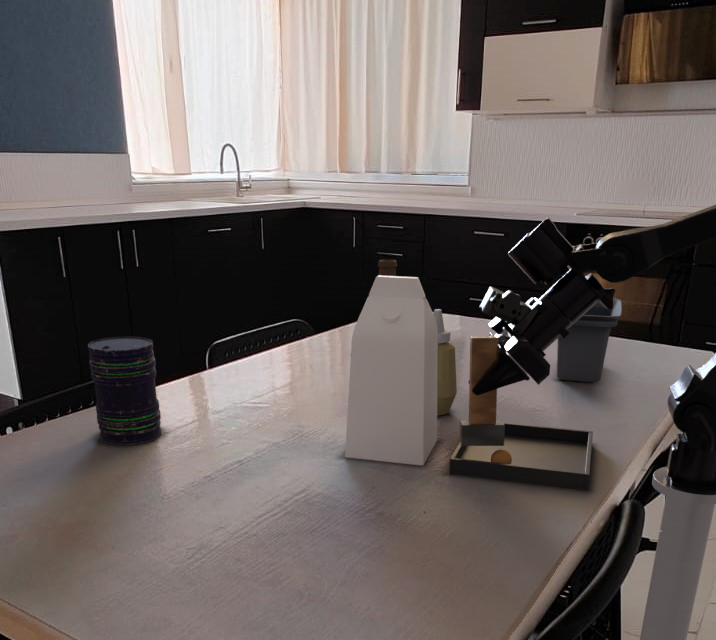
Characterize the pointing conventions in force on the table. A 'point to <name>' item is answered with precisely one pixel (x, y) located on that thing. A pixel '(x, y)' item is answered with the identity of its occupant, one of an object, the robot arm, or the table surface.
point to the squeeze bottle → (445, 367)
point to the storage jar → (125, 390)
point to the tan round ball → (501, 457)
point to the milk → (393, 375)
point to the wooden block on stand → (482, 398)
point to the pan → (531, 457)
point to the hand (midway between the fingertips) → (472, 388)
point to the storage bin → (587, 344)
